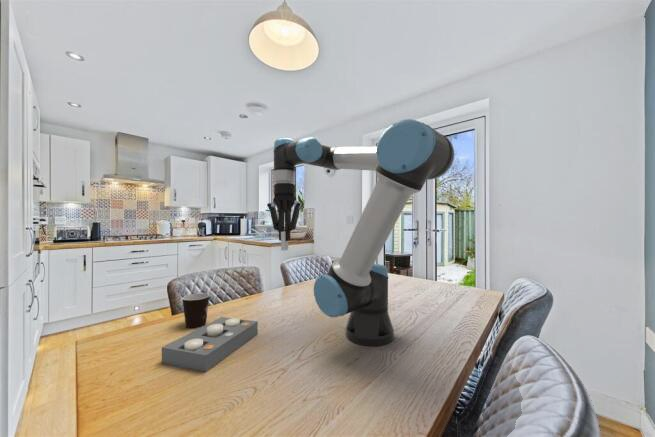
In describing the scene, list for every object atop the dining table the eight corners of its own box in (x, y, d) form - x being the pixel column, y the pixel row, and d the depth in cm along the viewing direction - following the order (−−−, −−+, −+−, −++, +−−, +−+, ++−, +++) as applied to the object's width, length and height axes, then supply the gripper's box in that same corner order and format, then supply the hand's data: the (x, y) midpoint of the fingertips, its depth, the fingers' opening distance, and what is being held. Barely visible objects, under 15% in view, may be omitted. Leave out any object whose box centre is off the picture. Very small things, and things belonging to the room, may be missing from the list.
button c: (206, 347, 72) (206, 339, 72) (194, 355, 68) (194, 347, 68) (193, 344, 73) (193, 337, 73) (180, 352, 69) (180, 344, 69)
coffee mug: (198, 330, 89) (198, 300, 89) (176, 328, 91) (176, 299, 91) (219, 318, 101) (219, 291, 101) (199, 316, 103) (199, 290, 103)
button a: (242, 325, 87) (242, 318, 87) (234, 330, 83) (234, 323, 83) (231, 323, 89) (231, 317, 89) (222, 328, 84) (222, 322, 84)
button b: (226, 331, 80) (226, 324, 80) (216, 337, 75) (216, 330, 75) (214, 329, 81) (214, 323, 81) (203, 335, 77) (203, 328, 77)
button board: (257, 333, 87) (257, 320, 87) (205, 371, 65) (205, 354, 65) (221, 328, 91) (221, 316, 91) (161, 362, 69) (161, 346, 69)
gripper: (305, 184, 97) (305, 249, 96) (273, 185, 101) (273, 248, 100) (297, 181, 89) (297, 251, 89) (262, 183, 93) (262, 250, 93)
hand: (284, 250), depth 95 cm, fingers closed
